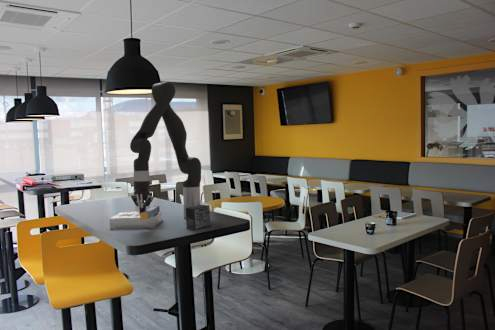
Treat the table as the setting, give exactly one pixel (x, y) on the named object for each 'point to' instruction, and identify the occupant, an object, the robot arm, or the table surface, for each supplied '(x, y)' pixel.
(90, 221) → the table surface
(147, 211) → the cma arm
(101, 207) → the table surface
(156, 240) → the table surface
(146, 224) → the chassis
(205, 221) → the small box
